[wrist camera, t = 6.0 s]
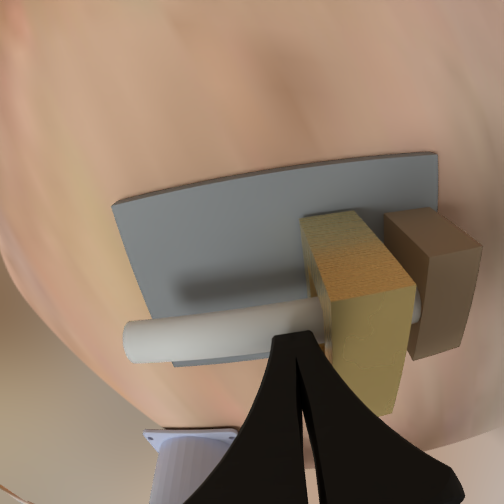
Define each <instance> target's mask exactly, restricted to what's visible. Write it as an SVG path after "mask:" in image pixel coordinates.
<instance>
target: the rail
mask: <svg viewBox="0 0 504 504" xmlns="http://www.w3.org/2000/svg"><path fill="white" fill-rule="evenodd" d="M111 207H112V211H113V214H114V217H115V220H116V223H117V226H118V229H119V232H120V235H121V238H122V241H123V244H124V247H125V250H126V253H127V255H128V258H129V261H130V264H131V266H132V269H133V272H134V274H135V277H136V280H137V282H138V285H139V287H140V290H141V292H142V295H143V297H144V300H145V302H146V305H147V307H148V310H149V312H150V314H151V317H152V319H148V320H138V321H129V322H128V323H127V324H126V325H125V327H124V331H123V346H124V350H125V353H126V355H127V357H128V359H129V360H130V361H131V362H132V363H156V362H172V364H173V366H174V367H184V366H198V365H210V364H220V363H230V362H239V361H248V360H256V359H264V358H269V355H270V349H271V341H272V338H273V337H274V335H280V334H287V333H293V332H300V331H306V330H310V331H312V332H313V334H314V336H315V338H316V340H317V342H318V344H321V343H325V338H324V319H323V310H322V307H321V304H320V301H319V298H318V296H317V297H312V298H308V295H307V285H306V276H305V267H304V258H303V249H302V241H301V232H300V224H299V218H306V217H312V216H319V215H325V214H332V213H339V212H345V211H352V210H354V211H355V212H356V213H357V214H358V216H359V217H360V218H361V219H362V220H363V221H364V222H365V223H366V225H367V226H368V227H369V228H370V229H371V230H372V231H373V233H374V234H375V235H376V236H377V237H378V238H379V239H380V241H381V242H382V243H383V244H384V245H385V247H386V248H387V249H388V250H389V251H390V252H391V254H392V255H393V256H394V257H395V258H396V260H397V261H398V262H399V263H400V265H401V266H402V267H403V268H404V270H405V271H406V272H407V273H408V275H409V276H410V277H411V278H412V280H413V281H414V282H415V283H416V294H415V301H414V309H413V316H412V322H411V329H410V334H409V340H408V346H407V351H408V352H409V354H410V356H411V358H412V360H413V361H415V360H418V359H422V358H425V357H428V356H432V355H435V354H438V353H441V352H444V351H447V350H450V349H453V348H456V347H459V346H460V344H461V340H462V337H463V334H464V330H465V327H466V323H467V319H468V316H469V312H470V308H471V304H472V299H473V295H474V291H475V286H476V281H477V276H478V271H479V266H480V260H481V254H482V247H483V246H482V245H481V244H479V243H478V242H477V241H476V240H474V239H473V238H472V237H470V236H469V235H468V234H466V233H465V232H464V231H462V230H461V229H460V228H458V227H457V226H456V225H454V224H453V223H452V222H450V221H449V220H447V219H446V218H445V217H443V216H442V215H440V214H439V213H438V212H437V208H438V155H437V154H435V153H432V152H416V153H402V154H390V155H378V156H368V157H358V158H349V159H341V160H332V161H324V162H316V163H309V164H302V165H295V166H288V167H281V168H275V169H269V170H263V171H257V172H251V173H245V174H239V175H234V176H228V177H223V178H218V179H213V180H207V181H202V182H197V183H193V184H188V185H183V186H178V187H174V188H169V189H165V190H160V191H156V192H152V193H147V194H143V195H139V196H135V197H131V198H127V199H123V200H119V201H117V202H116V203H114V204H113V205H112V206H111Z"/></svg>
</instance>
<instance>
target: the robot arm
mask: <svg viewBox="0 0 504 504" xmlns="http://www.w3.org/2000/svg"><path fill="white" fill-rule="evenodd" d="M302 410H303V414H304V419H305V423H306V427H307V431H308V435H309V439H310V443H311V447H312V451H313V457H314V462H315V469H316V477H317V485H318V494H319V502H320V504H460V503H461V502H462V501H463V500H464V498H465V494H464V491H463V488H462V485H461V483H460V481H459V480H458V478H457V476H456V474H455V473H454V471H453V470H452V468H451V467H449V466H447V465H445V464H444V463H442V462H440V461H438V460H436V459H435V458H433V457H431V456H430V455H428V454H426V453H425V452H423V451H422V450H420V449H419V448H417V447H416V446H414V445H413V444H411V443H410V442H408V441H407V440H406V439H404V438H403V437H402V436H400V435H399V434H398V433H397V432H395V431H394V430H393V429H391V428H390V427H389V426H388V425H386V424H385V423H384V422H383V421H382V420H381V419H380V418H379V417H377V416H376V415H375V414H374V413H373V412H372V411H371V410H370V409H369V408H368V407H367V406H366V405H365V404H364V403H363V402H362V401H361V400H360V399H359V398H358V397H357V396H356V394H355V393H354V392H353V391H352V390H351V389H350V388H349V386H348V385H347V384H346V383H345V382H344V380H343V379H342V378H341V377H340V375H339V374H338V373H337V371H336V370H335V369H334V367H333V366H332V364H331V363H330V362H329V360H328V359H327V357H326V356H325V354H324V353H323V351H322V349H321V348H320V346H319V344H318V342H317V340H316V338H315V336H314V334H313V332H312V331H310V330H306V331H300V332H293V333H287V334H280V335H274V337H273V338H272V341H271V349H270V355H269V359H268V363H267V367H266V370H265V373H264V376H263V379H262V382H261V385H260V388H259V390H258V393H257V395H256V398H255V400H254V402H253V405H252V407H251V409H250V411H249V414H248V416H247V418H246V420H245V422H244V423H243V425H242V427H241V429H240V431H239V433H238V432H237V431H236V430H235V429H232V428H227V429H204V430H155V429H145V430H144V431H143V435H144V437H145V438H146V439H147V440H148V442H149V443H151V445H152V446H153V447H154V449H155V450H156V451H157V452H158V453H159V454H158V459H157V464H156V469H155V474H154V479H153V485H152V490H151V496H150V501H149V504H308V497H307V488H306V479H305V470H304V458H303V421H302Z"/></svg>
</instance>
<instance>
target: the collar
mask: <svg viewBox="0 0 504 504" xmlns="http://www.w3.org/2000/svg"><path fill="white" fill-rule="evenodd" d="M299 224H300V232H301V241H302V249H303V258H304V267H305V276H306V285H307V295H308V298H312V297H317V296H318V298H319V301H320V304H321V307H322V310H323V319H324V338H325V343H321V344H319V346H320V348H321V349H322V351H323V353H324V354H325V356H326V357H327V359H328V360H329V362H330V363H331V364H332V366H333V367H334V369H335V370H336V371H337V373H338V374H339V375H340V377H341V378H342V379H343V380H344V382H345V383H346V384H347V385H348V386H349V388H350V389H351V390H352V391H353V392H354V393H355V394H356V396H357V397H358V398H359V399H360V400H361V401H362V402H363V403H364V404H365V405H366V406H367V407H368V408H369V409H370V410H371V411H372V412H373V413H374V414H375V415H376V416H377V417H379V416H383V415H387V414H391V413H392V411H393V407H394V404H395V400H396V396H397V392H398V388H399V384H400V379H401V375H402V370H403V366H404V361H405V356H406V351H407V346H408V340H409V334H410V329H411V322H412V316H413V309H414V301H415V294H416V283H415V282H414V281H413V280H412V278H411V277H410V276H409V275H408V273H407V272H406V271H405V270H404V268H403V267H402V266H401V265H400V263H399V262H398V261H397V260H396V258H395V257H394V256H393V255H392V254H391V252H390V251H389V250H388V249H387V248H386V247H385V245H384V244H383V243H382V242H381V241H380V239H379V238H378V237H377V236H376V235H375V234H374V233H373V231H372V230H371V229H370V228H369V227H368V226H367V225H366V223H365V222H364V221H363V220H362V219H361V218H360V217H359V216H358V214H357V213H356V212H355V211H354V210H352V211H345V212H339V213H332V214H325V215H319V216H312V217H306V218H299Z"/></svg>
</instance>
